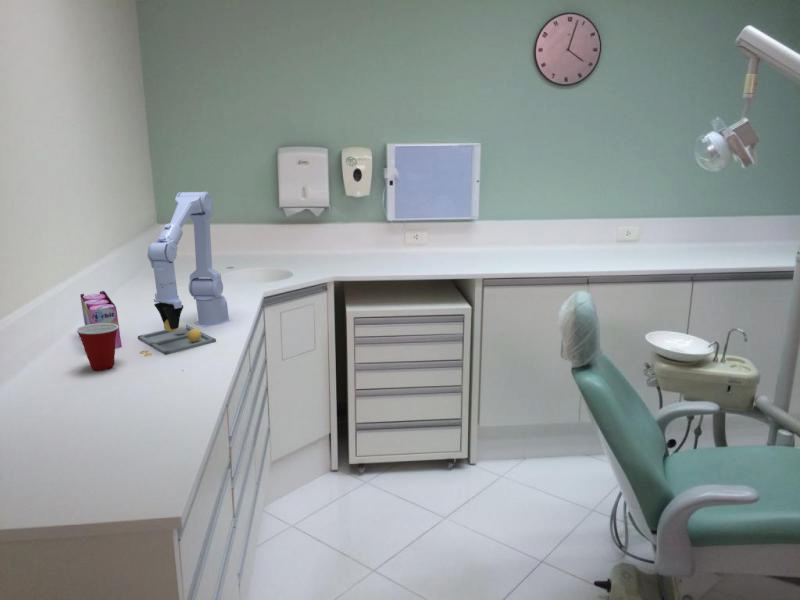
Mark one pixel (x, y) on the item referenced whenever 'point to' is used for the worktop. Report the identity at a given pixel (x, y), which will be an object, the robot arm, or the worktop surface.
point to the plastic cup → (99, 344)
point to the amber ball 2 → (194, 335)
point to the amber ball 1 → (167, 327)
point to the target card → (146, 354)
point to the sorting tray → (174, 341)
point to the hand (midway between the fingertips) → (171, 327)
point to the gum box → (100, 311)
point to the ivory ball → (180, 328)
